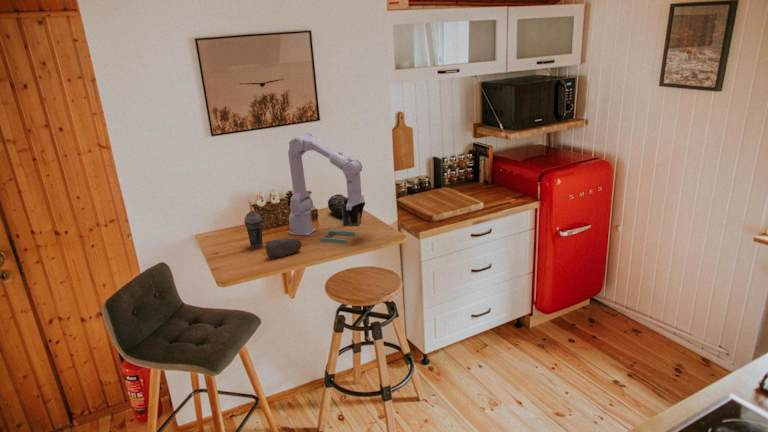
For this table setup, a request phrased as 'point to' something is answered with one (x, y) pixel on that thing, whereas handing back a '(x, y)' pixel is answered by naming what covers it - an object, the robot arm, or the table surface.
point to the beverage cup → (254, 228)
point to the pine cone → (336, 205)
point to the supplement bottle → (345, 212)
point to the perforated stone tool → (282, 247)
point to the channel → (331, 233)
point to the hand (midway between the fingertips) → (356, 221)
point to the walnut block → (357, 220)
